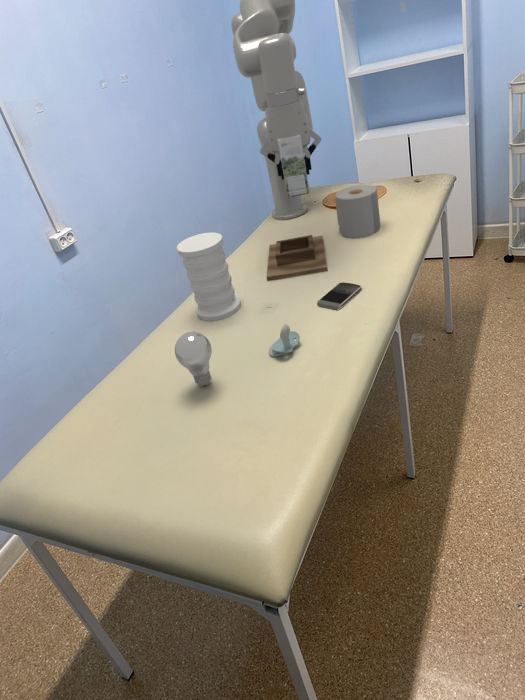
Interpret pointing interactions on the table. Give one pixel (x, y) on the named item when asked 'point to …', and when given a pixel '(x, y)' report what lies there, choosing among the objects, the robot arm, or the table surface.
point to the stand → (296, 257)
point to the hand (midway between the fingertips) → (295, 175)
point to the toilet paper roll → (358, 211)
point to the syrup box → (293, 166)
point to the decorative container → (209, 276)
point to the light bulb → (195, 356)
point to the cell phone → (339, 296)
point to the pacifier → (284, 342)
